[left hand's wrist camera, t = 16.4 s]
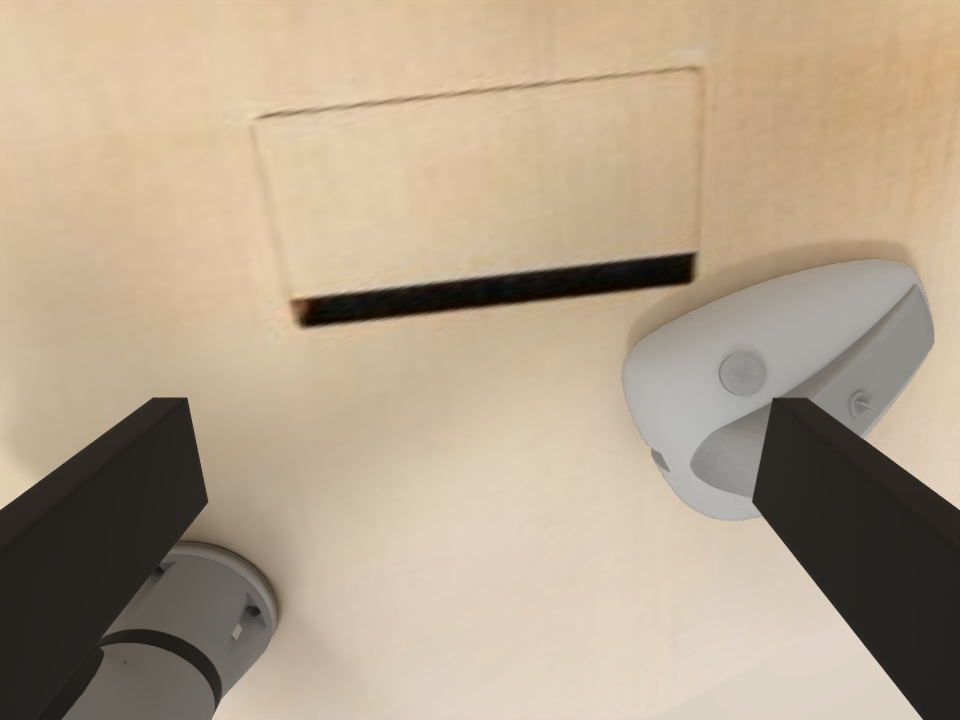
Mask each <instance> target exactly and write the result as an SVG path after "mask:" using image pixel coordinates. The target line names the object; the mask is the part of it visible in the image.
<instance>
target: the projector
mask: <svg viewBox="0 0 960 720" xmlns="http://www.w3.org/2000/svg"><path fill="white" fill-rule="evenodd" d="M933 344H934V325H933V318H932V315H931V311H930V307H929V303H928V300H927V297H926V294H925V291H924V288H923V285H922V283H921V281H920V279H919V277H918V275H917V273H916V272H915V271H914V270H913V268H912V267H910V266H909V265H907V264H904V263H901V262H898V261H894V260H889V259H864V260H855V261H848V262H841V263H835V264H830V265H825V266H820V267H815V268H810V269H806V270H802V271H798V272H795V273H791V274H787V275H784V276H780V277H777V278H773V279H770V280H767V281H764V282H761V283H758V284H756V285H753V286H750V287H747V288H744V289H742V290H739V291H736V292H734V293H732V294H729V295H727V296H724V297H722V298H719V299H717V300H715V301H712V302H710V303H708V304H706V305H703V306H701V307H699V308H697V309H695V310H693V311H691V312H688V313H686V314H684V315H682V316H680V317H678V318H676V319H674V320H673V321H671V322H669V323H667V324H665V325H663V326H662V327H660V328H658V329H657V330H655V331H653V332H652V333H650V334H649V335H647V336H646V337H644V338H643V339H642V340H640V341H639V342H638V343H637V344H636V345H635V346H633V348H632V349H631V350H630V351H629V352H628V354H627V356H626V358H625V360H624V363H623V368H622V385H623V390H624V394H625V398H626V401H627V404H628V407H629V410H630V412H631V415H632V417H633V420H634V422H635V424H636V426H637V428H638V430H639V432H640V434H641V436H642V438H643V440H644V442H645V443H646V444H647V445H648V446H649V447H650V448H651V454H652V457H653V459H654V461H655V463H656V465H657V467H658V469H659V470H660V472H661V474H662V475H663V477H664V479H665V480H666V482H667V483H668V485H669V486H670V487H671V489H672V490H673V491H674V492H675V494H676V495H677V496H678V497H679V498H680V499H681V500H682V501H683V502H684V503H685V504H686V505H688V506H689V507H690V508H692V509H694V510H695V511H697V512H699V513H701V514H703V515H705V516H708V517H710V518H714V519H718V520H725V521H739V520H747V519H751V518H756V517H759V516H762V514H761V513H760V512H759V511H758V509H757V508H756V507H755V506H754V504H753V503H752V498H753V493H754V488H755V483H756V479H757V474H758V469H759V464H760V459H761V454H762V449H763V444H764V439H765V434H766V429H767V424H768V419H769V414H770V409H771V404H772V399H773V398H808V399H809V400H811V401H812V402H814V403H815V404H816V405H818V406H819V407H820V408H822V409H823V410H824V411H826V412H827V413H828V414H830V415H831V416H833V417H834V418H835V419H837V420H838V421H839V422H841V423H842V424H843V425H845V426H846V427H847V428H849V429H850V430H852V431H853V432H854V433H856V434H857V435H858V436H860V437H861V438H862V439H864V438H865V437H866V436H867V435H868V434H869V432H870V431H871V430H872V429H873V428H874V426H875V425H876V424H877V423H878V422H879V420H880V419H881V418H882V417H883V416H884V415H885V413H886V412H887V411H888V410H889V408H890V407H891V406H892V404H893V403H894V402H895V401H896V399H897V398H898V397H899V395H900V394H901V393H902V391H903V390H904V389H905V388H906V386H907V385H908V383H909V382H910V381H911V379H912V378H913V376H914V375H915V373H916V372H917V371H918V369H919V368H920V366H921V365H922V363H923V362H924V360H925V358H926V357H927V355H928V353H929V351H930V349H931V348H932V346H933Z"/></svg>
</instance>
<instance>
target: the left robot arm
mask: <svg viewBox="0 0 960 720" xmlns="http://www.w3.org/2000/svg"><path fill="white" fill-rule="evenodd" d="M207 503H208V498H207V493H206V488H205V483H204V479H203V474H202V469H201V464H200V459H199V454H198V449H197V444H196V439H195V434H194V429H193V424H192V419H191V414H190V409H189V404H188V399H187V398H152V399H151V400H149V401H148V402H146V403H145V404H144V405H142V406H141V407H140V408H138V409H137V410H136V411H134V412H133V413H132V414H130V415H129V416H127V417H126V418H125V419H123V420H122V421H121V422H119V423H118V424H117V425H115V426H114V427H113V428H111V429H110V430H108V431H107V432H106V433H104V434H103V435H102V436H100V437H99V438H98V439H96V440H95V441H94V442H92V443H91V444H89V445H88V446H87V447H85V448H84V449H83V450H81V451H80V452H79V453H77V454H76V455H75V456H73V457H72V458H70V459H69V460H68V461H66V462H65V463H64V464H62V465H61V466H60V467H58V468H57V469H56V470H54V471H53V472H51V473H50V474H49V475H47V476H46V477H45V478H43V479H42V480H41V481H39V482H38V483H36V484H35V485H34V486H32V487H31V488H30V489H28V490H27V491H26V492H24V493H23V494H22V495H20V496H19V497H17V498H16V499H15V500H13V501H12V502H11V503H9V504H8V505H7V506H5V507H4V508H3V509H1V510H0V720H212V717H213V715H214V713H215V711H216V709H217V707H218V705H219V703H220V701H221V699H222V698H223V697H224V695H225V694H226V693H227V692H228V691H229V690H230V689H231V688H232V687H233V686H234V685H235V684H236V682H237V681H238V680H239V679H240V678H241V677H242V676H243V675H244V674H245V673H246V672H247V671H248V669H249V668H250V667H251V666H252V665H253V664H254V663H255V662H256V661H257V660H258V658H259V657H260V656H261V655H262V654H263V652H264V651H265V649H266V648H267V646H268V644H269V642H270V639H271V637H272V635H273V632H274V630H275V627H276V624H277V619H278V607H277V601H276V598H275V595H274V593H273V590H272V588H271V587H270V585H269V583H268V582H267V580H266V579H265V578H264V577H263V575H262V574H261V573H260V572H259V571H258V570H257V569H256V568H255V567H254V566H252V565H251V564H250V563H249V562H247V561H246V560H244V559H243V558H241V557H240V556H238V555H236V554H234V553H232V552H230V551H228V550H225V549H223V548H220V547H217V546H213V545H209V544H204V543H197V542H177V541H178V540H179V539H180V537H181V536H182V535H183V533H184V532H185V531H186V530H187V528H188V527H189V526H190V525H191V523H192V522H193V521H194V519H195V518H196V517H197V516H198V514H199V513H200V512H201V511H202V509H203V508H204V507H205V506H206V504H207ZM752 503H753V504H754V506H755V507H756V508H757V509H758V511H759V512H760V513H761V514H762V516H763V517H764V518H765V519H766V521H767V522H768V523H769V525H770V526H771V527H772V528H773V530H774V531H775V532H776V533H777V535H778V536H779V537H780V539H781V540H782V541H783V542H784V544H785V545H786V546H787V547H788V549H789V550H790V551H791V553H792V554H793V555H794V556H795V558H796V559H797V560H798V561H799V563H800V564H801V565H802V566H803V568H804V569H805V570H806V572H807V573H808V574H809V575H810V577H811V578H812V579H813V580H814V582H815V583H816V584H817V586H818V587H819V588H820V589H821V591H822V592H823V593H824V594H825V596H826V597H827V598H828V600H829V601H830V602H831V603H832V605H833V606H834V607H835V608H836V610H837V611H838V612H839V613H840V615H841V616H842V617H843V619H844V620H845V621H846V622H847V624H848V625H849V626H850V627H851V629H852V630H853V631H854V633H855V634H856V635H857V636H858V638H859V639H860V640H861V641H862V643H863V644H864V645H865V646H866V648H867V649H868V650H869V652H870V653H871V654H872V655H873V657H874V658H875V659H876V660H877V662H878V663H879V664H880V666H881V667H882V668H883V669H884V671H885V672H886V673H887V674H888V676H889V677H890V678H891V680H892V681H893V682H894V683H895V685H896V686H897V687H898V688H899V690H900V691H901V692H902V694H903V695H904V696H905V697H906V699H907V700H908V701H909V702H910V704H911V705H912V706H913V707H914V709H915V710H916V711H917V713H918V714H919V715H920V716H921V718H922V719H923V720H960V510H959V509H957V508H956V507H955V506H953V505H952V504H951V503H949V502H948V501H947V500H945V499H944V498H943V497H941V496H940V495H938V494H937V493H936V492H934V491H933V490H932V489H930V488H929V487H928V486H926V485H925V484H924V483H922V482H921V481H919V480H918V479H917V478H915V477H914V476H913V475H911V474H910V473H909V472H907V471H906V470H904V469H903V468H902V467H900V466H899V465H898V464H896V463H895V462H894V461H892V460H891V459H890V458H888V457H887V456H885V455H884V454H883V453H881V452H880V451H879V450H877V449H876V448H875V447H873V446H872V445H871V444H869V443H868V442H866V441H865V440H864V439H862V438H861V437H860V436H858V435H857V434H856V433H854V432H853V431H852V430H850V429H849V428H847V427H846V426H845V425H843V424H842V423H841V422H839V421H838V420H837V419H835V418H834V417H833V416H831V415H830V414H828V413H827V412H826V411H824V410H823V409H822V408H820V407H819V406H818V405H816V404H815V403H814V402H812V401H811V400H809V399H808V398H773V399H772V404H771V409H770V414H769V419H768V424H767V429H766V434H765V439H764V444H763V449H762V454H761V459H760V464H759V469H758V474H757V479H756V483H755V488H754V493H753V498H752Z"/></svg>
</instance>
